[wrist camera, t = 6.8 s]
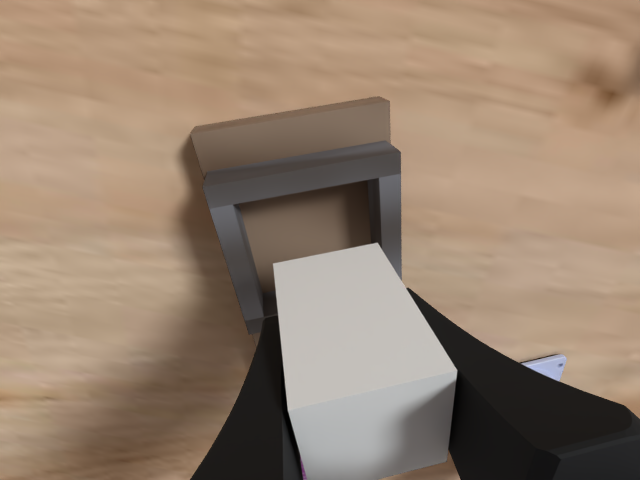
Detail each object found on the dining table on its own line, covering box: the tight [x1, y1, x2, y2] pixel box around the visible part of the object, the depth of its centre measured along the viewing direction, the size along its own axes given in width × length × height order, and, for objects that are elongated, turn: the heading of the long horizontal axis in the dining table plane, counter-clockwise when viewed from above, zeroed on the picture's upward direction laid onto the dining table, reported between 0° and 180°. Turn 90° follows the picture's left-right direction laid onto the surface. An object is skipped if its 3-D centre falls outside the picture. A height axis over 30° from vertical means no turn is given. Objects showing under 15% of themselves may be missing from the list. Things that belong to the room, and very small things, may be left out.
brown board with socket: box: [190, 97, 402, 348], centre depth 20 cm, size 22×9×6 cm, turn 7°
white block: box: [273, 243, 457, 480], centre depth 12 cm, size 4×4×6 cm
